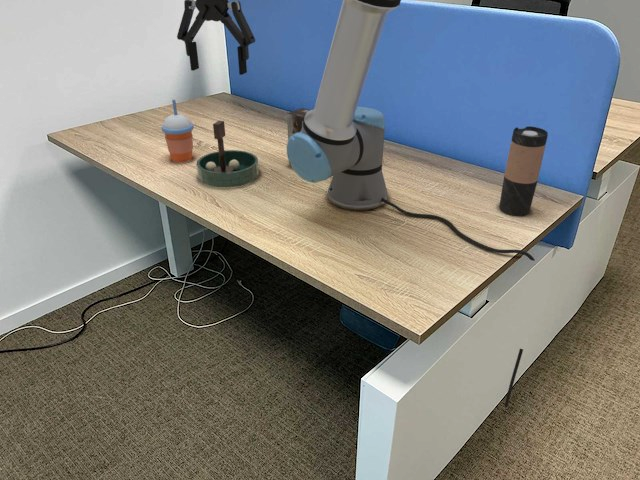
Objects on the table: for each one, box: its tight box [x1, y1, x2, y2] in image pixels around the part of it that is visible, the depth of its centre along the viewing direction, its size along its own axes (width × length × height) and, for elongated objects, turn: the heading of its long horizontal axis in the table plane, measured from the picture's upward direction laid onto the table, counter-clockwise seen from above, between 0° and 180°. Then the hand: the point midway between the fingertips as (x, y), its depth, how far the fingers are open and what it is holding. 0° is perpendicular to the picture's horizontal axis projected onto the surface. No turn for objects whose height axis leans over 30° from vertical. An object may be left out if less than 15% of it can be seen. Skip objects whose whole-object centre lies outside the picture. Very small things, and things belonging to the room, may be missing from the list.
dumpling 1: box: [206, 162, 216, 172], centre depth 147 cm, size 3×3×3 cm
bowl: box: [196, 149, 260, 188], centre depth 145 cm, size 17×17×4 cm
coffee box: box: [286, 107, 311, 166], centre depth 148 cm, size 9×6×16 cm
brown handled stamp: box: [212, 120, 233, 172], centre depth 141 cm, size 5×5×16 cm
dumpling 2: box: [229, 160, 240, 170], centre depth 148 cm, size 3×3×3 cm
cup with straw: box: [161, 99, 194, 163], centre depth 152 cm, size 9×9×18 cm
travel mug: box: [499, 125, 549, 217], centre depth 124 cm, size 8×8×20 cm
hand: (218, 71), depth 132 cm, fingers open, 13 cm apart
